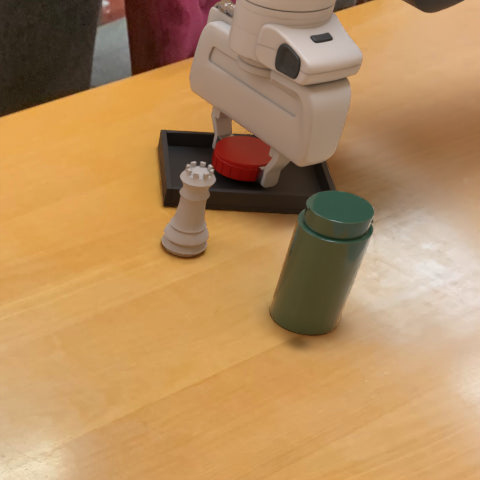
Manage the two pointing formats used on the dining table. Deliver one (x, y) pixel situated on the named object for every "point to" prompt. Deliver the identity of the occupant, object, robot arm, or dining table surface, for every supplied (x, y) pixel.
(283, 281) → the jar
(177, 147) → the tray
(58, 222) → the dining table surface
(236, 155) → the lid
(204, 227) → the rook chess piece
